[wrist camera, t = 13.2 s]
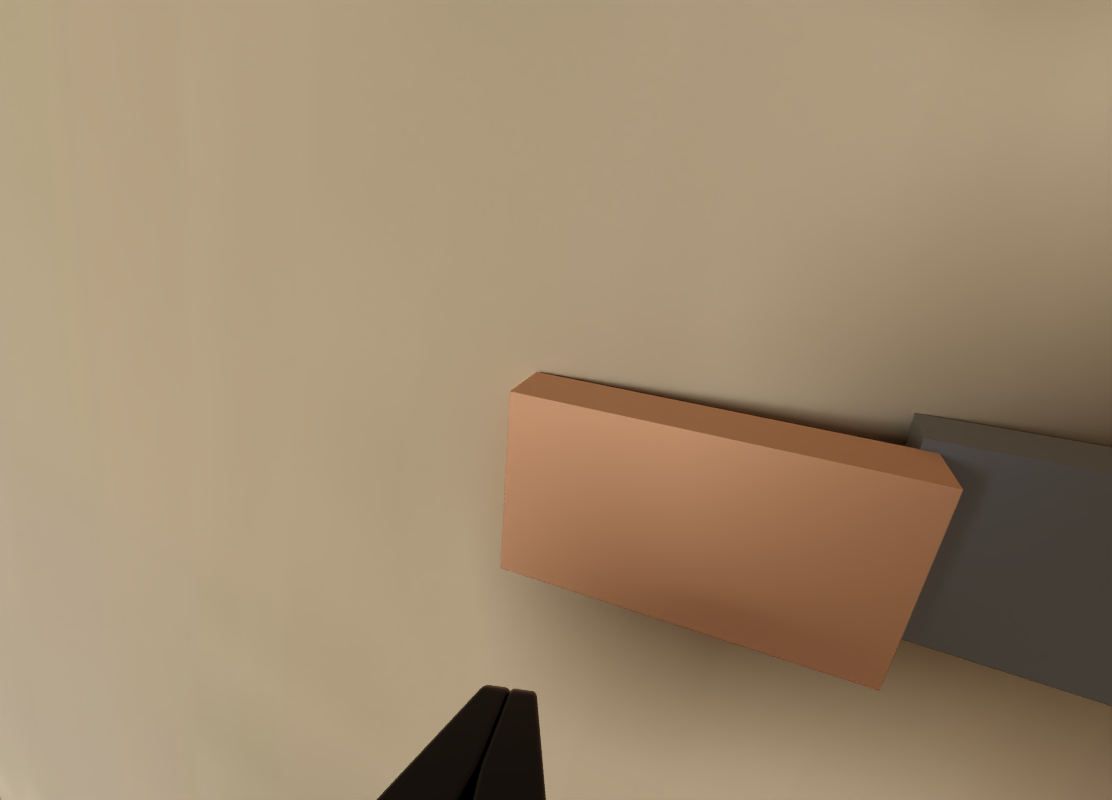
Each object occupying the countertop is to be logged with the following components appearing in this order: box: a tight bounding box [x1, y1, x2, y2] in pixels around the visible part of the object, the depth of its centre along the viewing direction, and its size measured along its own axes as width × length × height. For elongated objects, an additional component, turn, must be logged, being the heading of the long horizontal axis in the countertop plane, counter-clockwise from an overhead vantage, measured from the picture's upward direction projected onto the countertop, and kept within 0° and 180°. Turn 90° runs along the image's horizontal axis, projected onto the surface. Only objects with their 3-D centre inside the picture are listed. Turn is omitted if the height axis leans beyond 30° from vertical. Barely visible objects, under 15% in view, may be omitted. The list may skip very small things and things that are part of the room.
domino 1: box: [501, 372, 963, 690], centre depth 13 cm, size 2×5×9 cm
